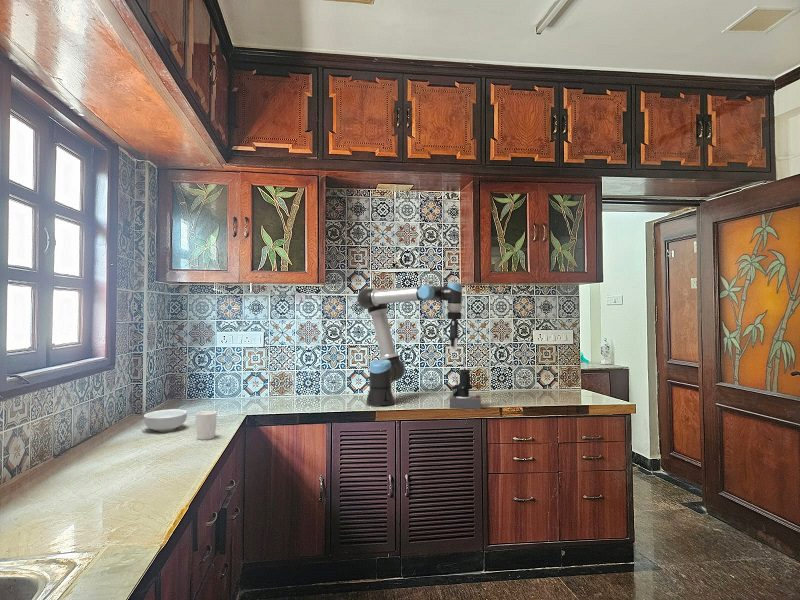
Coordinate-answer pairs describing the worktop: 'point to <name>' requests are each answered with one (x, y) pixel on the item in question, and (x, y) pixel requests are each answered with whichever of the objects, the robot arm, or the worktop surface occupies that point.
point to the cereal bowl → (165, 419)
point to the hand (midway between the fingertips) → (453, 351)
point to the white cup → (206, 424)
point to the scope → (462, 385)
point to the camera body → (466, 402)
